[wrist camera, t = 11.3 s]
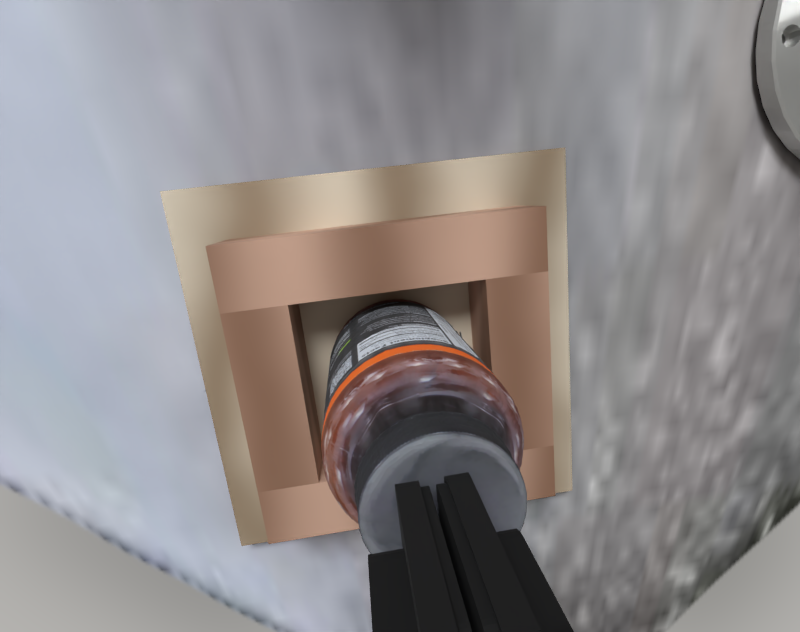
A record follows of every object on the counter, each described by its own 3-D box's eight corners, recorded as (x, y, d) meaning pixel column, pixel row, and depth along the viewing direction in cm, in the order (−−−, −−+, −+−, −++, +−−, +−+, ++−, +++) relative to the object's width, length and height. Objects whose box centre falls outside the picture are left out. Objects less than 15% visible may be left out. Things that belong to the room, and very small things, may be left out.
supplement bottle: (451, 419, 23) (547, 623, 12) (327, 415, 22) (306, 630, 11) (465, 299, 21) (590, 402, 10) (333, 290, 20) (317, 391, 10)
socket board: (555, 150, 21) (601, 138, 17) (563, 479, 25) (602, 529, 21) (169, 191, 20) (125, 189, 16) (245, 532, 24) (226, 595, 20)
